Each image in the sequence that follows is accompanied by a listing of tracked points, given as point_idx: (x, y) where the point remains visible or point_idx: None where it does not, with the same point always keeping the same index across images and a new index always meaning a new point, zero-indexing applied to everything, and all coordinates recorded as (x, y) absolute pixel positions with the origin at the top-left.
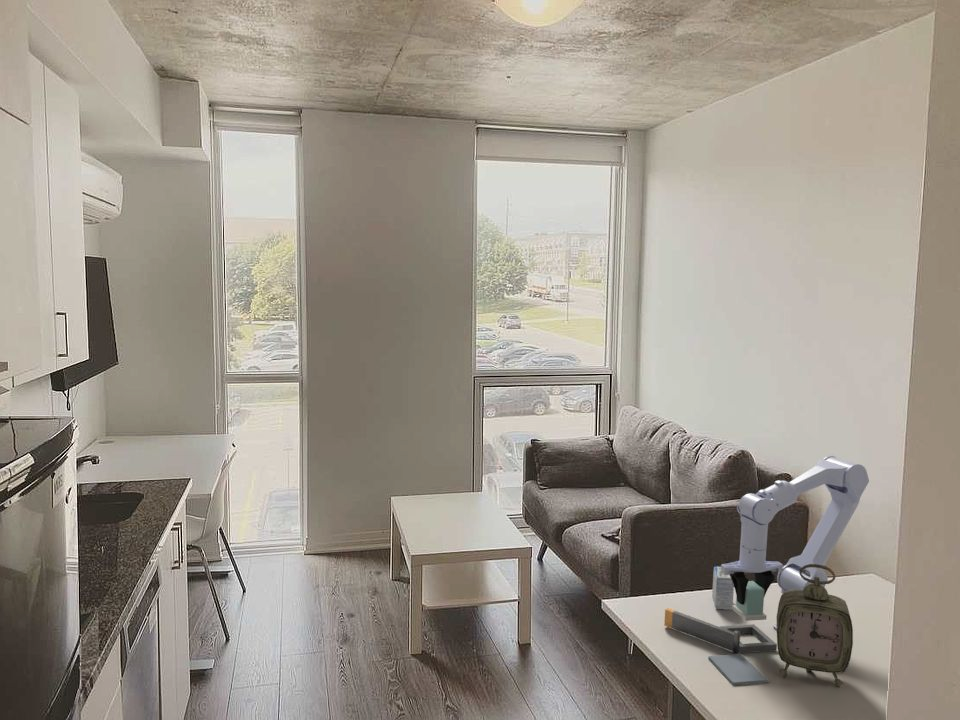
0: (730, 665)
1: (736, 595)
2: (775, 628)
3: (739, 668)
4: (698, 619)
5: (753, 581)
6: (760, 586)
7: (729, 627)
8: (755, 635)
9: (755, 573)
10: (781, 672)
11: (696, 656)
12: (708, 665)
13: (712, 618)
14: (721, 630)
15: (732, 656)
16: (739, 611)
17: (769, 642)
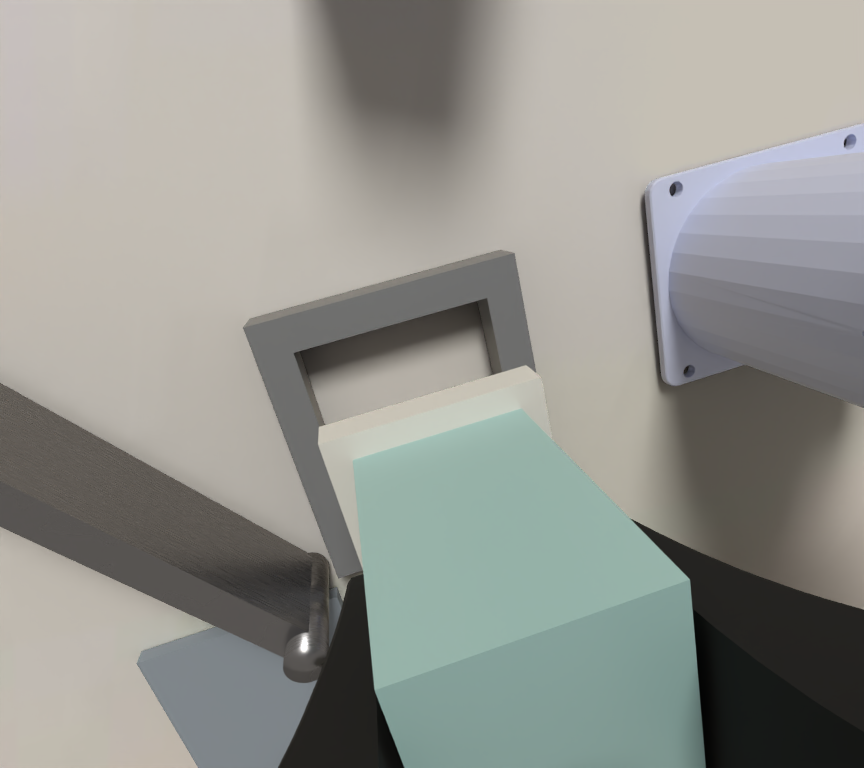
0: (252, 716)
1: (338, 623)
2: (647, 223)
3: (294, 729)
4: (2, 488)
5: (685, 599)
6: (709, 733)
7: (318, 333)
8: (486, 339)
9: (857, 766)
10: None
11: (70, 643)
12: (138, 708)
13: (227, 65)
14: (201, 616)
15: None
16: (361, 565)
17: None
